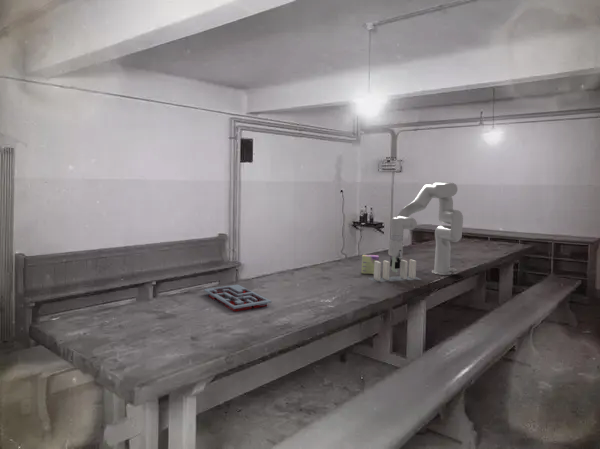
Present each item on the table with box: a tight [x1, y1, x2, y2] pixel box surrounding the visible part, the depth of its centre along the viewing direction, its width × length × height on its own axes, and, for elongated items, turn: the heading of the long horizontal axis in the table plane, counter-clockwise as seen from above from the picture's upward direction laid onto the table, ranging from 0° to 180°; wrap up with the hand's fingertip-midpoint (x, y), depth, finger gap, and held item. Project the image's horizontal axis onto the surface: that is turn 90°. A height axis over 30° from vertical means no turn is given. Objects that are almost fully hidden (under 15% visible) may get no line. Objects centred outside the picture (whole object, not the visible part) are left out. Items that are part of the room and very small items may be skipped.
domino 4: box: [399, 259, 409, 279], centre depth 283 cm, size 2×5×11 cm, turn 17°
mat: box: [367, 275, 422, 283], centre depth 282 cm, size 32×10×1 cm, turn 107°
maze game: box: [203, 284, 272, 313], centre depth 230 cm, size 35×20×3 cm, turn 35°
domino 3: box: [390, 256, 399, 273], centre depth 280 cm, size 2×5×11 cm, turn 17°
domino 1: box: [373, 261, 382, 281], centre depth 277 cm, size 2×5×11 cm, turn 17°
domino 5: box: [408, 259, 417, 279], centre depth 285 cm, size 2×5×11 cm, turn 17°
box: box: [360, 254, 380, 275], centre depth 296 cm, size 10×6×12 cm, turn 84°
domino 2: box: [382, 260, 391, 280], centre depth 279 cm, size 2×5×11 cm, turn 17°
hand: (394, 267), depth 281 cm, fingers closed on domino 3, 4 cm apart
